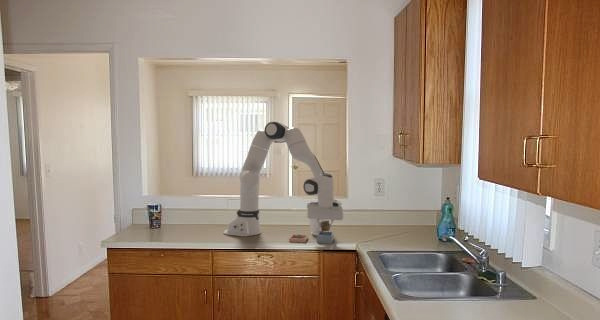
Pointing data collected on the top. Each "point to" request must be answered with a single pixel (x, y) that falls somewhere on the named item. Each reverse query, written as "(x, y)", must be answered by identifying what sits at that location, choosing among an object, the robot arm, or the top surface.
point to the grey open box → (325, 237)
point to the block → (325, 225)
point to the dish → (294, 239)
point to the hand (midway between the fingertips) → (325, 227)
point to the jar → (315, 226)
